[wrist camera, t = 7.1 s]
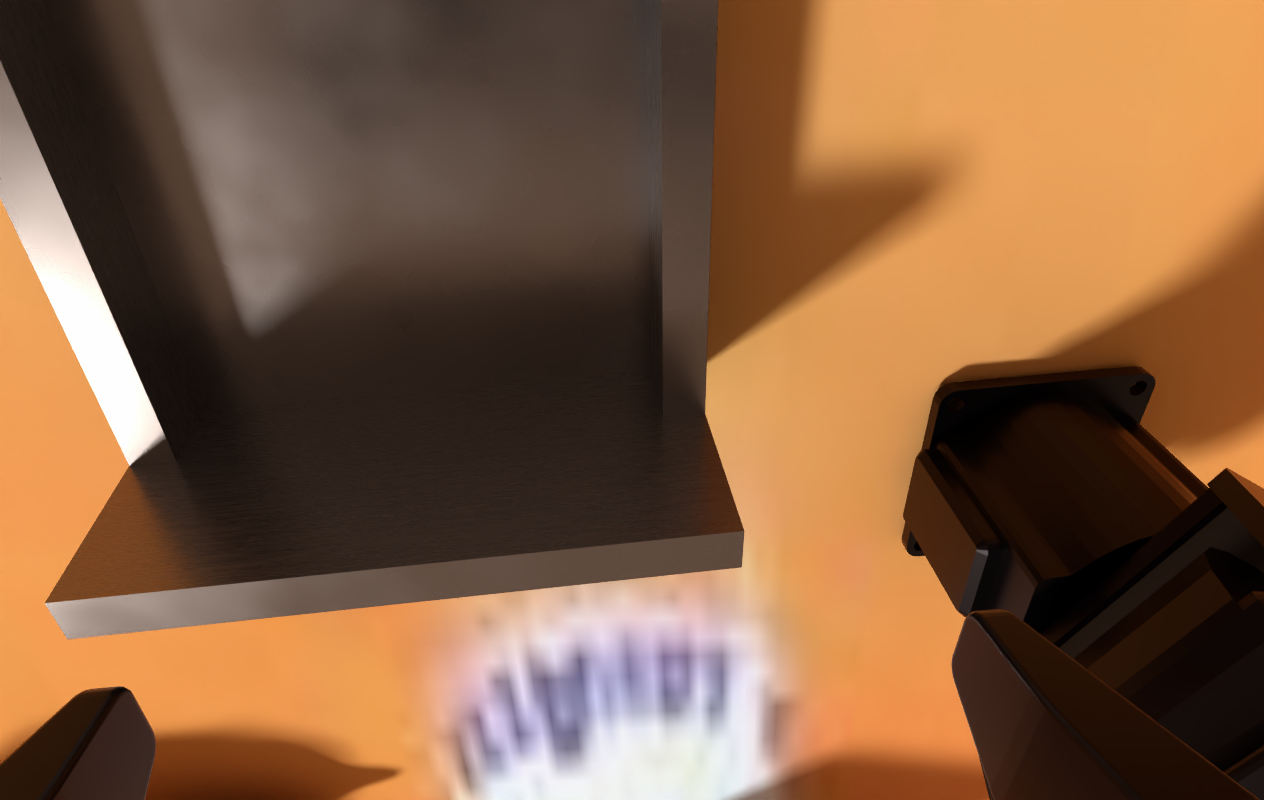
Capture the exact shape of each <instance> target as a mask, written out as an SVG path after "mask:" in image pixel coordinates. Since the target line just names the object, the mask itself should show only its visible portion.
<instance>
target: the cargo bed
mask: <svg viewBox="0 0 1264 800" xmlns="http://www.w3.org/2000/svg"><path fill="white" fill-rule="evenodd" d="M717 19H718V0H0V198H1V200H2V203H3V205H4V207H5V209H6V211H7V213H8V215H9V217H10V219H11V221H12V223H13V225H14V227H15V229H16V232H17V234H18V236H19V238H20V240H21V242H22V244H23V246H24V248H25V250H26V252H27V254H28V256H29V259H30V261H31V263H32V265H33V267H34V269H35V271H36V273H37V275H38V277H39V279H40V281H41V283H42V285H43V288H44V290H45V292H46V294H47V296H48V298H49V300H50V302H51V304H52V306H53V308H54V310H55V312H56V314H57V317H58V319H59V321H60V323H61V325H62V327H63V329H64V331H65V333H66V335H67V337H68V339H69V341H70V343H71V346H72V348H73V350H74V352H75V354H76V356H77V358H78V360H79V362H80V364H81V366H82V368H83V370H84V372H85V375H86V377H87V379H88V381H89V383H90V385H91V387H92V389H93V391H94V393H95V395H96V397H97V399H98V402H99V404H100V406H101V408H102V410H103V412H104V414H105V416H106V418H107V420H108V422H109V424H110V426H111V428H112V431H113V433H114V435H115V437H116V439H117V441H118V443H119V445H120V447H121V449H122V451H123V453H124V455H125V457H126V460H127V462H128V464H129V467H128V469H127V471H126V472H125V474H124V475H123V477H122V479H121V480H120V482H119V484H118V485H117V487H116V488H115V490H114V492H113V493H112V495H111V497H110V498H109V500H108V501H107V503H106V505H105V506H104V508H103V510H102V511H101V513H100V514H99V516H98V518H97V519H96V521H95V522H94V524H93V526H92V527H91V529H90V531H89V532H88V534H87V535H86V537H85V539H84V540H83V542H82V544H81V545H80V547H79V548H78V550H77V552H76V553H75V555H74V557H73V558H72V560H71V561H70V563H69V565H68V566H67V568H66V570H65V571H64V573H63V574H62V576H61V578H60V579H59V581H58V583H57V584H56V586H55V587H54V589H53V591H52V592H51V594H50V596H49V597H48V599H47V600H46V602H45V605H46V606H47V608H48V609H49V611H50V612H51V614H52V616H53V617H54V619H55V620H56V622H57V623H58V625H59V627H60V628H61V630H62V631H63V633H64V634H65V636H66V638H67V639H76V638H85V637H94V636H104V635H113V634H122V633H132V632H141V631H150V630H160V629H169V628H178V627H188V626H197V625H206V624H216V623H225V622H234V621H244V620H253V619H262V618H272V617H281V616H290V615H300V614H309V613H318V612H328V611H337V610H346V609H356V608H365V607H374V606H384V605H393V604H402V603H412V602H421V601H431V600H440V599H449V598H459V597H468V596H477V595H487V594H496V593H505V592H515V591H524V590H533V589H543V588H552V587H561V586H571V585H580V584H589V583H599V582H608V581H617V580H627V579H636V578H645V577H655V576H664V575H673V574H683V573H692V572H701V571H711V570H720V569H729V568H739V567H742V555H743V542H744V529H743V526H742V523H741V520H740V517H739V514H738V511H737V508H736V505H735V502H734V499H733V496H732V493H731V490H730V487H729V484H728V481H727V478H726V475H725V472H724V469H723V466H722V463H721V460H720V457H719V454H718V451H717V448H716V445H715V442H714V439H713V436H712V433H711V430H710V427H709V424H708V421H707V418H706V415H705V398H706V366H707V335H708V303H709V271H710V240H711V208H712V177H713V145H714V114H715V82H716V51H717Z"/></svg>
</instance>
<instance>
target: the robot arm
mask: <svg viewBox="0 0 1264 800" xmlns="http://www.w3.org/2000/svg"><path fill="white" fill-rule="evenodd" d="M1135 383H1136V384H1135ZM1133 384H1135V385H1133ZM1132 385H1133V386H1132ZM1154 387H1155V379H1154V377H1153V376H1152V375H1151V374H1150V373H1149V372H1147V371H1146V370H1145V369H1143V368H1142V367H1137V366H1134V367H1122V368H1111V369H1100V370H1089V371H1078V372H1067V373H1055V374H1044V375H1033V376H1022V377H1011V378H1000V379H989V380H977V381H966V382H955V383H950V384H946V385H945V386H943V387H941V388H940V389H939V390H938V391H937V392H936V393H935V395H934V398H933V401H932V405H931V410H930V414H929V419H928V423H927V428H926V432H925V437H924V441H923V445H922V450H921V451H920V452H919V454H918V455H917V457H916V459H915V463H914V468H913V473H912V477H911V482H910V486H909V491H908V495H907V500H906V504H905V509H904V513H903V517H904V520H905V526H904V530H903V535H902V543H903V545H904V547H905V549H906V550H907V552H908V553H909V554H910V555H912V556H926V558H927V559H928V561H929V563H930V565H931V566H932V568H933V570H934V572H935V573H936V575H937V577H938V579H939V580H940V582H941V584H942V585H943V587H944V589H945V591H946V592H947V594H948V596H949V598H950V599H951V601H952V603H953V605H954V606H955V608H956V610H957V611H958V612H959V613H961V614H962V615H963V616H964V617H966V618H965V621H964V624H963V627H962V630H961V633H960V636H959V639H958V642H957V645H956V648H955V651H954V654H953V658H952V673H953V678H954V681H955V685H956V688H957V691H958V694H959V697H960V700H961V703H962V706H963V709H964V712H965V715H966V718H967V721H968V724H969V727H970V730H971V733H972V736H973V739H974V742H975V745H976V748H977V751H978V754H979V758H980V762H981V766H982V770H983V774H984V778H985V782H986V786H987V790H988V794H989V798H990V800H1264V489H1263V488H1261V487H1260V486H1258V485H1256V484H1254V483H1253V482H1251V481H1249V480H1247V479H1246V478H1244V477H1242V476H1240V475H1239V474H1237V473H1235V472H1233V471H1232V470H1230V469H1228V468H1225V469H1224V470H1223V471H1222V472H1221V473H1220V474H1218V475H1217V476H1216V477H1215V478H1214V479H1213V480H1211V481H1210V482H1209V483H1208V484H1207V485H1208V486H1209V487H1210V488H1208V487H1207V486H1206V485H1205V484H1204V483H1202V482H1201V481H1200V480H1199V479H1198V478H1197V477H1196V476H1195V475H1194V474H1193V473H1192V472H1191V471H1190V470H1188V469H1187V468H1186V467H1185V466H1184V465H1183V464H1182V463H1181V462H1180V461H1179V460H1178V459H1177V458H1176V457H1175V456H1173V455H1172V454H1171V453H1170V452H1169V451H1168V450H1167V449H1166V448H1165V447H1164V446H1163V445H1162V444H1161V443H1159V442H1158V441H1157V440H1156V439H1155V438H1154V437H1153V436H1152V435H1151V434H1150V433H1149V432H1148V431H1147V430H1146V429H1144V428H1143V427H1142V426H1141V425H1140V421H1141V419H1142V416H1143V414H1144V411H1145V409H1146V406H1147V404H1148V402H1149V399H1150V397H1151V394H1152V392H1153V389H1154ZM954 398H957V400H956V401H955V402H953V403H952V404H948V403H949V402H950V401H951V400H952V399H954ZM155 750H156V741H155V736H154V732H153V730H152V728H151V726H150V724H149V722H148V721H147V719H146V717H145V715H144V713H143V712H142V710H141V708H140V706H139V704H138V702H137V701H136V699H135V697H134V695H133V694H132V692H131V691H130V690H128V689H127V688H125V687H109V688H97V689H89V690H85V691H83V692H81V693H79V694H78V695H76V696H75V697H73V698H72V699H71V700H70V701H69V702H68V703H67V704H66V705H64V706H63V707H62V708H61V709H60V710H59V711H58V712H57V713H56V714H55V715H53V716H52V717H51V718H50V719H49V720H48V721H47V722H46V723H45V724H44V725H43V726H41V727H40V728H39V729H38V730H37V731H36V732H35V733H34V734H33V735H32V736H30V737H29V738H28V739H27V740H26V741H25V742H24V743H23V744H22V745H21V746H20V747H18V748H17V749H16V750H15V751H14V752H13V753H12V754H11V755H10V756H9V757H7V758H6V759H5V760H4V761H3V762H2V763H1V764H0V800H145V797H146V793H147V789H148V784H149V780H150V775H151V771H152V767H153V762H154V758H155Z"/></svg>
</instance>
